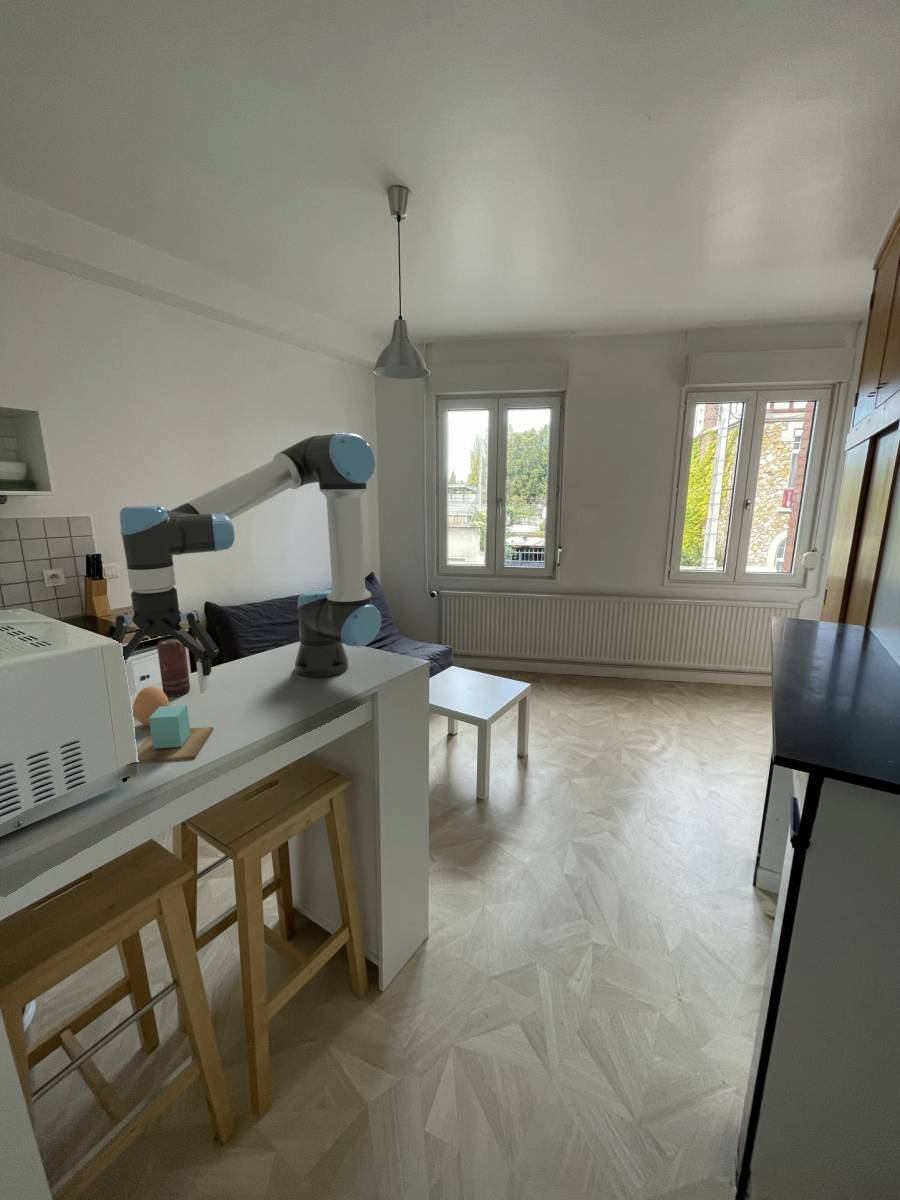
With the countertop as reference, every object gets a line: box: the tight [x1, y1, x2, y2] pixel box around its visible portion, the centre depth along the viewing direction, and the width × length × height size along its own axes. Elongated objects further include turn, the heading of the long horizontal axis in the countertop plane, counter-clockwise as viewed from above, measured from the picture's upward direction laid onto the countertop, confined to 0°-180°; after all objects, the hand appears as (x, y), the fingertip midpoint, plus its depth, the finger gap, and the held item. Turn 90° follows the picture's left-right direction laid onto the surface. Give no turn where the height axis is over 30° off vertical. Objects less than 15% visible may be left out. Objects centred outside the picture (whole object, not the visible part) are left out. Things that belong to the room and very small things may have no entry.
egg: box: [133, 685, 170, 727], centre depth 108 cm, size 7×7×9 cm
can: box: [156, 637, 191, 698], centre depth 124 cm, size 6×6×14 cm
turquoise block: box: [149, 704, 191, 749], centre depth 99 cm, size 5×5×7 cm
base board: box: [136, 726, 215, 764], centre depth 100 cm, size 12×12×1 cm
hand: (168, 692), depth 98 cm, fingers open, 13 cm apart
